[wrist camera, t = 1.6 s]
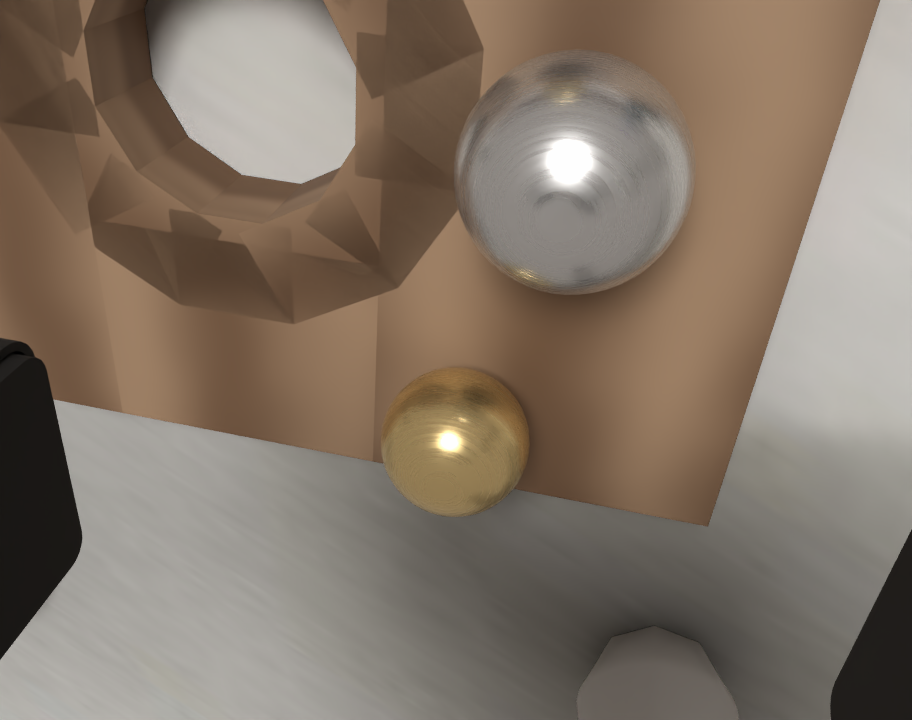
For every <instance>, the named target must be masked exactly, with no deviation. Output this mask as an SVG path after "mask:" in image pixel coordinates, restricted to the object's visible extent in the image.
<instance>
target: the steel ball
mask: <svg viewBox="0 0 912 720" xmlns="http://www.w3.org/2000/svg"><path fill="white" fill-rule="evenodd" d="M695 172H696V161H695V152H694V145H693V141H692V138H691V134H690V130H689V127H688V125H687V123H686V120H685V118H684V115H683V113H682V111H681V110H680V108H679V106H678V105H677V103H676V101H675V100H674V98H673V97H672V96H671V95H670V93H669V92H668V91H667V90H666V88H665V87H664V86H663V85H662V84H661V83H659V82H658V81H657V80H656V79H655V78H654V77H653V76H652V75H650V74H649V73H647V72H646V71H645V70H643V69H642V68H640V67H639V66H637V65H635V64H633V63H631V62H629V61H627V60H625V59H623V58H620V57H618V56H615V55H612V54H609V53H604V52H599V51H594V50H565V51H558V52H553V53H549V54H544V55H541V56H538V57H536V58H533V59H530V60H528V61H526V62H524V63H522V64H520V65H518V66H516V67H514V68H513V69H512V70H510V71H509V72H507V73H506V74H504V75H503V76H502V77H501V78H499V79H498V80H497V81H496V82H495V83H494V84H493V85H492V86H491V87H490V88H489V89H488V90H487V91H486V92H485V93H484V95H483V96H482V97H481V98H480V99H479V101H478V102H477V103H476V105H475V106H474V108H473V110H472V111H471V113H470V115H469V116H468V119H467V121H466V123H465V125H464V128H463V130H462V132H461V135H460V138H459V142H458V145H457V149H456V155H455V162H454V189H455V198H456V202H457V206H458V210H459V213H460V216H461V218H462V221H463V223H464V226H465V228H466V230H467V232H468V234H469V236H470V238H471V239H472V241H473V243H474V244H475V245H476V247H477V248H478V249H479V251H480V252H481V253H482V254H483V255H484V257H485V258H486V259H487V260H488V261H489V262H490V263H491V264H492V265H494V266H495V267H496V268H497V269H499V270H500V271H501V272H502V273H504V274H505V275H507V276H508V277H510V278H511V279H513V280H515V281H517V282H519V283H521V284H523V285H525V286H527V287H530V288H533V289H536V290H539V291H543V292H548V293H552V294H562V295H580V294H588V293H595V292H599V291H603V290H607V289H610V288H613V287H615V286H618V285H621V284H623V283H625V282H627V281H628V280H630V279H632V278H634V277H636V276H637V275H639V274H640V273H641V272H643V271H644V270H646V269H647V268H648V267H649V266H650V265H651V264H653V263H654V262H655V261H656V260H657V259H658V258H659V257H660V256H661V255H662V254H663V253H664V252H665V251H666V249H667V248H668V247H669V246H670V245H671V243H672V242H673V240H674V238H675V237H676V235H677V234H678V232H679V230H680V228H681V226H682V224H683V222H684V220H685V218H686V216H687V214H688V211H689V207H690V204H691V201H692V197H693V191H694V185H695Z"/></svg>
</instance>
